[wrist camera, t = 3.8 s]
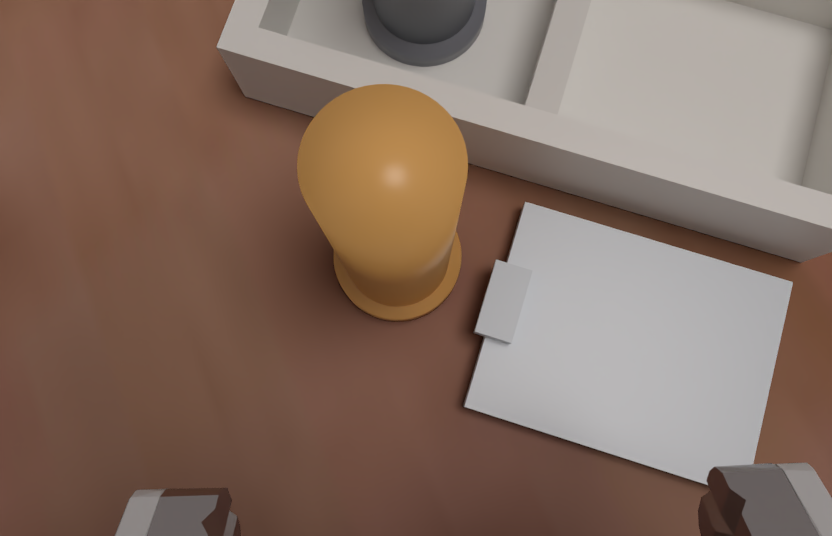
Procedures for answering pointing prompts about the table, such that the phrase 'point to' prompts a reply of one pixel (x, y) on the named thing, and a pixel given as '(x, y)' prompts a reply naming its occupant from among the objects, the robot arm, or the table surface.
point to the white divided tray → (602, 101)
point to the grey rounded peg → (424, 28)
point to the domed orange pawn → (387, 196)
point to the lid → (628, 345)
